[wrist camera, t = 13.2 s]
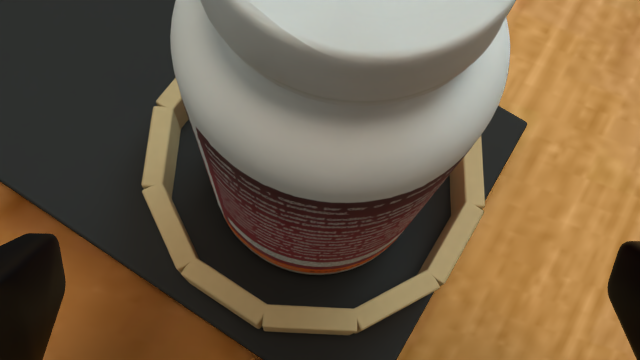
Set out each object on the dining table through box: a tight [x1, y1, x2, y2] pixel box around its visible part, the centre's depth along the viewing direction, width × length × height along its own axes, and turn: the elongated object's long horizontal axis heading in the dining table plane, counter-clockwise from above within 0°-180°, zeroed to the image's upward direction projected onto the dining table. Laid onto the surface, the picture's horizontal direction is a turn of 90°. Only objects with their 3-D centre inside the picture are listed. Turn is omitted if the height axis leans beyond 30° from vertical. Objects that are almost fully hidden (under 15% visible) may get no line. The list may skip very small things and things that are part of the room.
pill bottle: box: [170, 0, 516, 275], centre depth 13 cm, size 6×6×11 cm
